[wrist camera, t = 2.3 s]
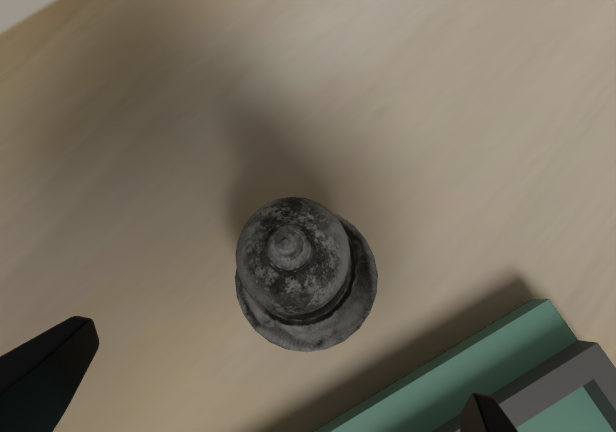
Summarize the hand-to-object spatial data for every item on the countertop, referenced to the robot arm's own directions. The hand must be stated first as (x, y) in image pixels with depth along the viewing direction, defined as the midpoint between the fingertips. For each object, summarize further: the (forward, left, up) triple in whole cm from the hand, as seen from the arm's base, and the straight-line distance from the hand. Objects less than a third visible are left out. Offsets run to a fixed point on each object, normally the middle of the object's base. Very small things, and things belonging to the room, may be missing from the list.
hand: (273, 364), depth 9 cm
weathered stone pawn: (+2, +2, -10) cm, 10 cm away
